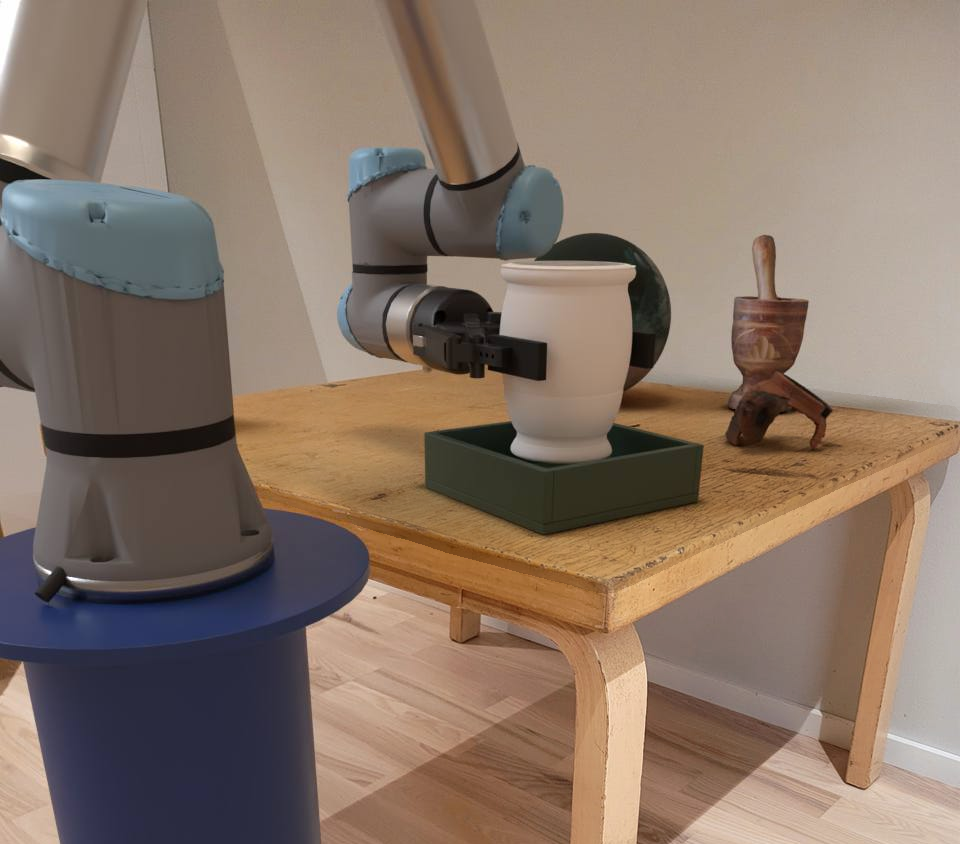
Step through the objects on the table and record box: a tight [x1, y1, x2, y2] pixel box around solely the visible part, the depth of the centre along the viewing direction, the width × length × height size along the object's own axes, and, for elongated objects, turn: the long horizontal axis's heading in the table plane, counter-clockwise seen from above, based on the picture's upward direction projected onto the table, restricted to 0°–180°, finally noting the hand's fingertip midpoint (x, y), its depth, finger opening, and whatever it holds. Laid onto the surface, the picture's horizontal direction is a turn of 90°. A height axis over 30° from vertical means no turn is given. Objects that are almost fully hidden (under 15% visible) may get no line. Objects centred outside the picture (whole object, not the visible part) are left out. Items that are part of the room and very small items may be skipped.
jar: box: [500, 260, 636, 464], centre depth 78 cm, size 11×10×15 cm
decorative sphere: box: [533, 232, 672, 393], centre depth 121 cm, size 20×20×20 cm
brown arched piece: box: [724, 371, 834, 450], centre depth 99 cm, size 12×10×8 cm
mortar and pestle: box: [727, 234, 810, 413], centre depth 117 cm, size 12×9×20 cm
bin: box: [423, 420, 705, 536], centre depth 81 cm, size 17×17×5 cm
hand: (599, 356), depth 74 cm, fingers closed on jar, 10 cm apart
